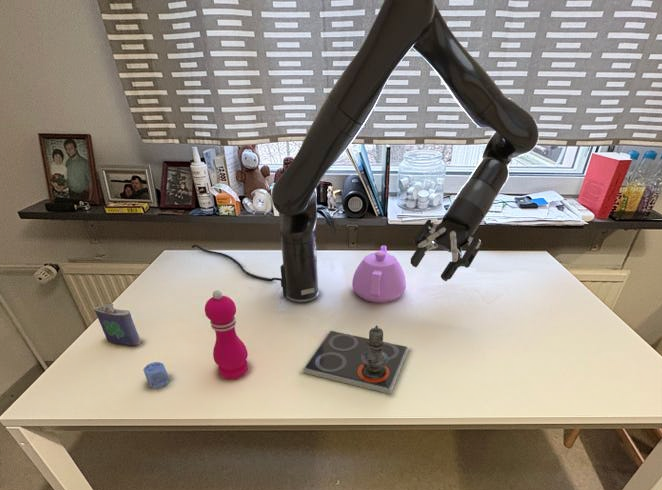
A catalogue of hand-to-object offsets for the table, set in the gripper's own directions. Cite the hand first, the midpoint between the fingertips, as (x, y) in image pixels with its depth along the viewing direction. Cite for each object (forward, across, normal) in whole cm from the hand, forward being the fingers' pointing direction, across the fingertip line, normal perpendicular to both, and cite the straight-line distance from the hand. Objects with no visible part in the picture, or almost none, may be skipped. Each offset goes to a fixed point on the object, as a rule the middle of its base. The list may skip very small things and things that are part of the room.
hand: (427, 272), depth 88 cm
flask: (+52, -47, -25) cm, 74 cm away
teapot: (+6, -25, +21) cm, 33 cm away
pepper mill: (+41, -20, -14) cm, 48 cm away
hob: (+25, -4, +2) cm, 25 cm away
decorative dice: (+51, -27, -24) cm, 63 cm away
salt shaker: (+24, +2, 0) cm, 24 cm away
